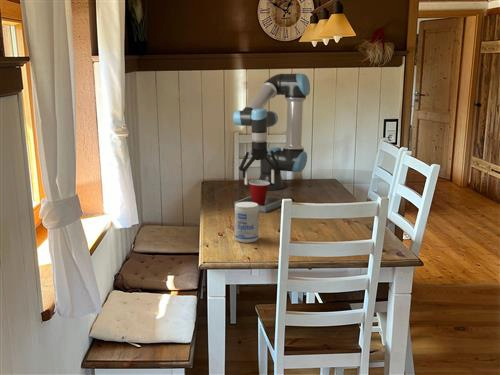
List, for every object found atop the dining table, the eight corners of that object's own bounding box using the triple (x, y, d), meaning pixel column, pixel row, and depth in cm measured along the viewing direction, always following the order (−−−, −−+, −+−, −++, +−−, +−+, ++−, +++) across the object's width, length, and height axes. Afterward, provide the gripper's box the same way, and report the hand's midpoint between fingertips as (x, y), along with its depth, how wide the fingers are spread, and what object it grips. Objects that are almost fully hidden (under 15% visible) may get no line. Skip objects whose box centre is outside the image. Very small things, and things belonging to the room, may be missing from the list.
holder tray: (253, 200, 281) (253, 195, 281) (283, 205, 272) (283, 199, 271) (234, 208, 267) (234, 202, 266) (265, 213, 257) (265, 206, 256)
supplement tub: (236, 244, 212) (236, 207, 208) (232, 236, 221) (232, 202, 218) (260, 242, 213) (260, 206, 210) (256, 235, 223) (255, 200, 219)
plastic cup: (267, 208, 263) (267, 184, 260) (246, 207, 265) (246, 183, 262) (271, 202, 273) (271, 179, 271) (250, 201, 275) (250, 178, 273)
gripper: (281, 139, 268) (281, 180, 273) (232, 140, 263) (233, 183, 268) (286, 141, 261) (285, 183, 266) (235, 143, 256) (236, 186, 261)
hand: (259, 183), depth 267 cm, fingers open, 13 cm apart
